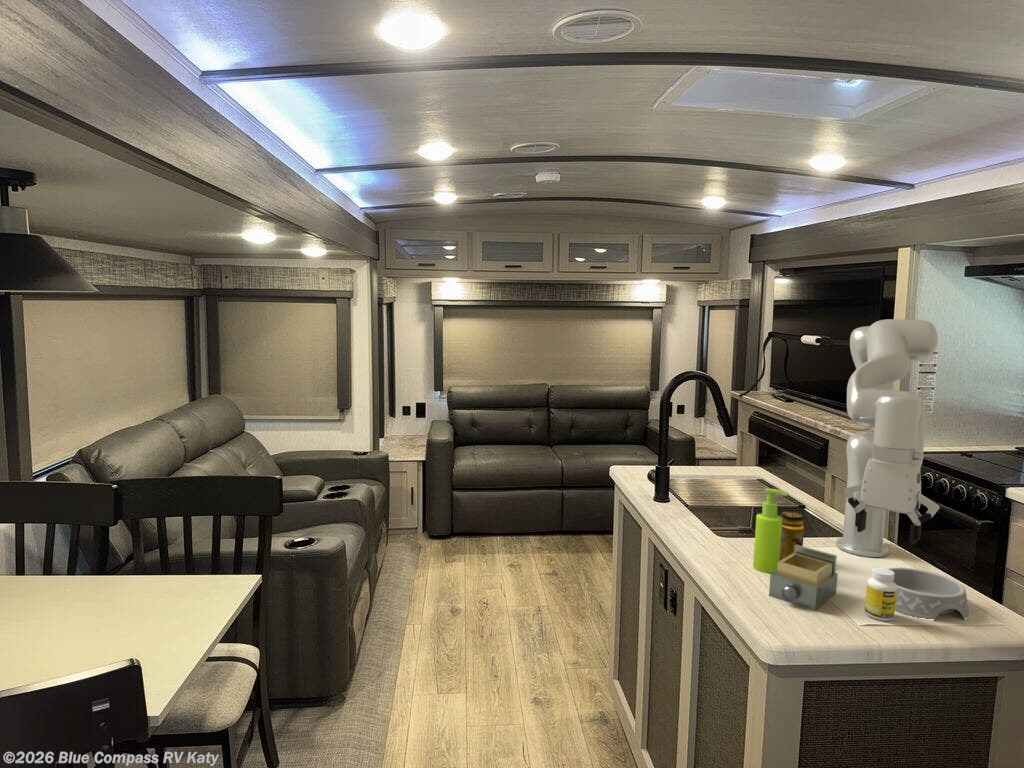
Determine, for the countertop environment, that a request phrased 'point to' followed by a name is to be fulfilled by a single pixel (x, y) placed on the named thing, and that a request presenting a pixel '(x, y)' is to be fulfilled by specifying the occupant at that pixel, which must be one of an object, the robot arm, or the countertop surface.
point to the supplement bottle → (881, 595)
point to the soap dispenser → (768, 534)
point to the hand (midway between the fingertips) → (886, 536)
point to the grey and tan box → (805, 578)
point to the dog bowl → (928, 594)
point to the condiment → (791, 533)
